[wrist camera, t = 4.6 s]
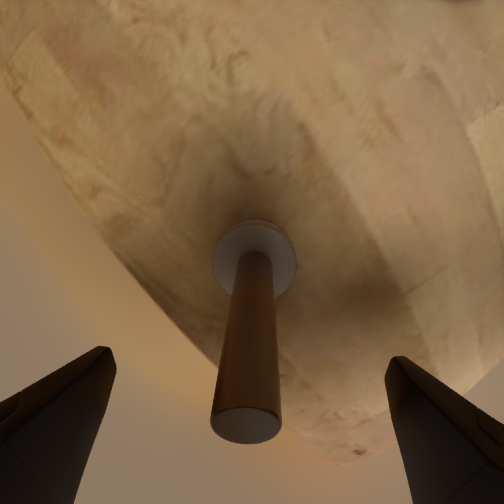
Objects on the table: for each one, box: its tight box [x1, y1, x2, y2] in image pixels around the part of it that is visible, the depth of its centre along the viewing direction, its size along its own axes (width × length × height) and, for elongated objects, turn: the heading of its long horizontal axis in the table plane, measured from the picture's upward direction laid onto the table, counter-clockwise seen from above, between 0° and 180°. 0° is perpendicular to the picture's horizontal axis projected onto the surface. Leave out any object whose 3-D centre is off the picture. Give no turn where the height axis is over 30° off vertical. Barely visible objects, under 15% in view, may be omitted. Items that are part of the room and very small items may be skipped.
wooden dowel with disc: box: [210, 220, 297, 444], centre depth 12 cm, size 4×4×11 cm
